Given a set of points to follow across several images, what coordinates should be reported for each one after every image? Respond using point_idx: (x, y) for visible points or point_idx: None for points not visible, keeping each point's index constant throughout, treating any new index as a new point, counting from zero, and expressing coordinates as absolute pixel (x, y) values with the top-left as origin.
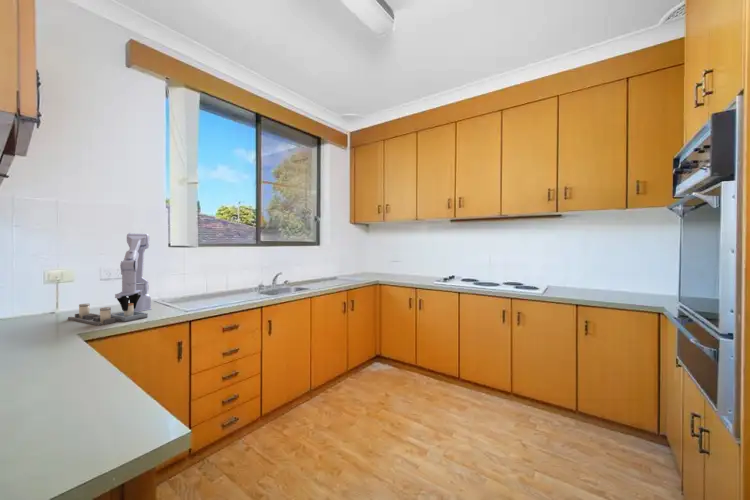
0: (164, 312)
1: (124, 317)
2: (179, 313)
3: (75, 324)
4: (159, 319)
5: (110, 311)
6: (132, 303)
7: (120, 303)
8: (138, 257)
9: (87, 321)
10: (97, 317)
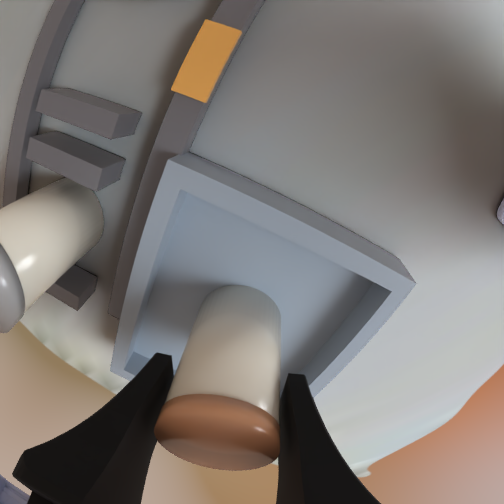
0: (434, 400)
1: (111, 364)
2: (379, 454)
3: (18, 38)
4: None
5: (31, 304)
6: (228, 467)
7: (93, 420)
8: None
9: (21, 97)
10: (59, 117)
